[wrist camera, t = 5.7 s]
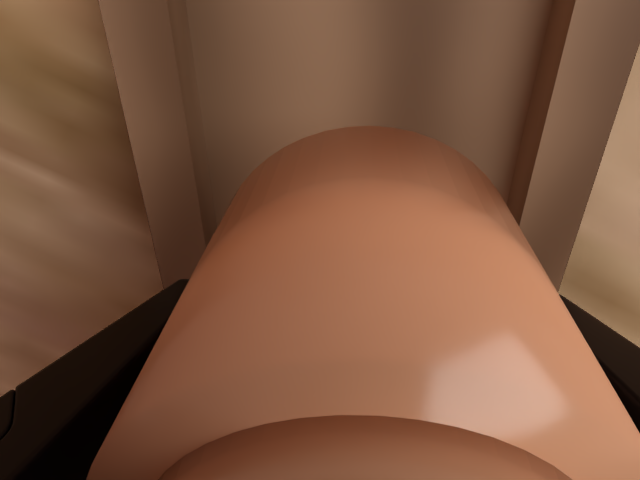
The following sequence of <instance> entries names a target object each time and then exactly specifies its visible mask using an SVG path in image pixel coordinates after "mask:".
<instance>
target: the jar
mask: <svg viewBox="0 0 640 480" xmlns="http://www.w3.org/2000/svg"><path fill="white" fill-rule="evenodd" d="M86 480H640V433H639V431H638V429H637V428H636V426H635V424H634V422H633V421H632V419H631V417H630V416H629V414H628V412H627V410H626V409H625V407H624V405H623V404H622V402H621V400H620V398H619V397H618V395H617V393H616V392H615V390H614V388H613V387H612V385H611V383H610V381H609V380H608V378H607V376H606V375H605V373H604V371H603V369H602V368H601V366H600V364H599V363H598V361H597V359H596V357H595V356H594V354H593V352H592V351H591V349H590V347H589V345H588V344H587V342H586V340H585V339H584V337H583V335H582V333H581V332H580V330H579V328H578V327H577V325H576V323H575V321H574V320H573V318H572V316H571V315H570V313H569V311H568V309H567V308H566V306H565V304H564V303H563V301H562V299H561V297H560V296H559V294H558V292H557V291H556V289H555V287H554V286H553V284H552V282H551V280H550V279H549V277H548V275H547V274H546V272H545V270H544V268H543V267H542V265H541V263H540V262H539V260H538V258H537V256H536V255H535V253H534V251H533V250H532V248H531V246H530V244H529V243H528V241H527V239H526V238H525V236H524V234H523V232H522V231H521V229H520V227H519V226H518V224H517V222H516V220H515V219H514V217H513V215H512V214H511V212H510V210H509V208H508V207H507V205H506V203H505V202H504V200H503V198H502V197H501V195H500V193H499V191H498V190H497V189H496V187H495V186H494V185H493V183H492V182H491V181H490V179H489V178H488V177H487V175H485V174H484V173H483V172H482V171H481V170H480V169H479V168H478V167H477V166H476V165H475V164H474V163H473V162H472V161H471V160H469V159H468V158H466V157H465V156H464V155H462V154H461V153H459V152H458V151H456V150H455V149H453V148H451V147H449V146H447V145H445V144H443V143H442V142H440V141H438V140H436V139H433V138H430V137H427V136H424V135H421V134H419V133H416V132H412V131H407V130H402V129H397V128H392V127H380V126H355V127H344V128H338V129H333V130H327V131H323V132H320V133H317V134H314V135H311V136H307V137H304V138H302V139H300V140H298V141H296V142H294V143H292V144H289V145H287V146H285V147H284V148H282V149H281V150H279V151H277V152H276V153H274V154H273V155H271V156H270V157H268V158H267V159H266V160H265V161H264V162H262V163H261V164H260V165H259V166H258V167H257V168H256V169H254V170H253V171H252V173H251V174H250V175H249V176H248V177H247V178H246V180H245V181H244V182H243V183H242V184H241V186H240V187H239V189H238V190H237V192H236V194H235V195H234V197H233V198H232V200H231V202H230V204H229V206H228V208H227V209H226V211H225V213H224V215H223V217H222V219H221V221H220V223H219V225H218V226H217V228H216V230H215V232H214V234H213V236H212V238H211V240H210V242H209V243H208V245H207V247H206V249H205V251H204V253H203V255H202V257H201V259H200V260H199V262H198V264H197V266H196V268H195V270H194V272H193V274H192V276H191V277H190V279H189V281H188V283H187V285H186V287H185V289H184V291H183V293H182V294H181V296H180V298H179V300H178V302H177V304H176V306H175V308H174V310H173V311H172V313H171V315H170V317H169V319H168V321H167V323H166V325H165V327H164V328H163V330H162V332H161V334H160V336H159V338H158V340H157V342H156V344H155V345H154V347H153V349H152V351H151V353H150V355H149V357H148V359H147V361H146V362H145V364H144V366H143V368H142V370H141V372H140V374H139V376H138V378H137V379H136V381H135V383H134V385H133V387H132V389H131V391H130V393H129V395H128V396H127V398H126V400H125V402H124V404H123V406H122V408H121V410H120V412H119V413H118V415H117V417H116V419H115V421H114V423H113V425H112V427H111V429H110V430H109V432H108V434H107V436H106V438H105V440H104V442H103V444H102V446H101V447H100V449H99V451H98V453H97V455H96V457H95V459H94V461H93V463H92V465H91V468H90V470H89V473H88V476H87V478H86Z"/></svg>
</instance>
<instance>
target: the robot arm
mask: <svg viewBox="0 0 640 480" xmlns="http://www.w3.org/2000/svg"><path fill="white" fill-rule="evenodd" d="M188 281H189V279H180V280H178V281H176V282H175V283H173V284H172V285H170V286H168V287H167V288H165V289H164V290H162V291H161V292H159V293H158V294H156V295H155V296H153V297H152V298H150V299H149V300H147V301H146V302H144V303H143V304H141V305H140V306H138V307H137V308H135V309H134V310H132V311H131V312H129V313H128V314H126V315H124V316H123V317H121V318H120V319H118V320H117V321H115V322H114V323H112V324H111V325H109V326H108V327H106V328H105V329H103V330H102V331H100V332H99V333H97V334H96V335H94V336H93V337H91V338H90V339H88V340H87V341H85V342H84V343H82V344H80V345H79V346H77V347H76V348H74V349H73V350H71V351H70V352H68V353H67V354H65V355H64V356H62V357H61V358H59V359H58V360H56V361H55V362H53V363H52V364H50V365H49V366H47V367H46V368H44V369H42V370H41V371H39V372H38V373H36V374H35V375H33V376H32V377H30V378H29V379H27V380H26V381H24V382H23V383H21V384H20V385H18V386H17V387H16V390H10V391H9V392H7V393H6V394H4V395H3V396H1V397H0V480H86V478H87V476H88V473H89V470H90V468H91V465H92V463H93V461H94V459H95V457H96V455H97V453H98V451H99V449H100V447H101V446H102V444H103V442H104V440H105V438H106V436H107V434H108V432H109V430H110V429H111V427H112V425H113V423H114V421H115V419H116V417H117V415H118V413H119V412H120V410H121V408H122V406H123V404H124V402H125V400H126V398H127V396H128V395H129V393H130V391H131V389H132V387H133V385H134V383H135V381H136V379H137V378H138V376H139V374H140V372H141V370H142V368H143V366H144V364H145V362H146V361H147V359H148V357H149V355H150V353H151V351H152V349H153V347H154V345H155V344H156V342H157V340H158V338H159V336H160V334H161V332H162V330H163V328H164V327H165V325H166V323H167V321H168V319H169V317H170V315H171V313H172V311H173V310H174V308H175V306H176V304H177V302H178V300H179V298H180V296H181V294H182V293H183V291H184V289H185V287H186V285H187V283H188ZM559 296H560V297H561V299H562V301H563V303H564V304H565V306H566V308H567V309H568V311H569V313H570V315H571V316H572V318H573V320H574V321H575V323H576V325H577V327H578V328H579V330H580V332H581V333H582V335H583V337H584V339H585V340H586V342H587V344H588V345H589V347H590V349H591V351H592V352H593V354H594V356H595V357H596V359H597V361H598V363H599V364H600V366H601V368H602V369H603V371H604V373H605V375H606V376H607V378H608V380H609V381H610V383H611V385H612V387H613V388H614V390H615V392H616V393H617V395H618V397H619V398H620V400H621V402H622V404H623V405H624V407H625V409H626V410H627V412H628V414H629V416H630V417H631V419H632V421H633V422H634V424H635V426H636V428H637V429H638V431H639V433H640V348H639V347H638V346H636V345H635V344H633V343H632V342H630V341H629V340H627V339H626V338H624V337H623V336H621V335H620V334H618V333H617V332H615V331H614V330H612V329H611V328H609V327H608V326H607V325H605V324H604V323H602V322H601V321H599V320H598V319H596V318H595V317H593V316H592V315H590V314H589V313H587V312H586V311H584V310H583V309H581V308H580V307H578V306H577V305H575V304H574V303H572V302H571V301H569V300H568V299H566V298H565V297H563V296H562V295H560V294H559Z"/></svg>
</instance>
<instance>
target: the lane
mask: <svg viewBox="0 0 640 480" xmlns="http://www.w3.org/2000/svg"><path fill="white" fill-rule="evenodd" d="M98 2H99V6H100V10H101V15H102V19H103V24H104V28H105V33H106V37H107V41H108V46H109V50H110V55H111V59H112V63H113V68H114V72H115V77H116V81H117V85H118V90H119V94H120V99H121V103H122V108H123V112H124V116H125V121H126V125H127V130H128V134H129V138H130V143H131V147H132V152H133V156H134V160H135V165H136V169H137V174H138V178H139V183H140V187H141V191H142V196H143V200H144V205H145V209H146V213H147V218H148V222H149V227H150V231H151V235H152V240H153V244H154V249H155V253H156V258H157V262H158V266H159V271H160V275H161V280H162V284H163V288H164V289H165V288H167V287H168V286H170V285H172V284H173V283H175V282H176V281H178V280H180V279H190V277H191V276H192V274H193V272H194V270H195V268H196V266H197V264H198V262H199V260H200V259H201V257H202V255H203V253H204V251H205V249H206V247H207V245H208V243H209V242H210V240H211V238H212V236H213V234H214V232H215V230H216V228H217V226H218V225H219V223H220V221H221V219H222V217H223V215H224V213H225V211H226V209H227V208H228V206H229V204H230V202H231V200H232V198H233V197H234V195H235V194H236V192H237V190H238V189H239V187H240V186H241V184H242V183H243V182H244V181H245V180H246V178H247V177H248V176H249V175H250V174H251V173H252V171H253V170H254V169H256V168H257V167H258V166H259V165H260V164H261V163H262V162H264V161H265V160H266V159H267V158H268V157H270V156H271V155H273V154H274V153H276V152H277V151H279V150H281V149H282V148H284V147H285V146H287V145H289V144H292V143H294V142H296V141H298V140H300V139H302V138H304V137H307V136H311V135H314V134H317V133H320V132H323V131H327V130H333V129H338V128H344V127H355V126H380V127H392V128H397V129H402V130H407V131H412V132H416V133H419V134H421V135H424V136H427V137H430V138H433V139H436V140H438V141H440V142H442V143H443V144H445V145H447V146H449V147H451V148H453V149H455V150H456V151H458V152H459V153H461V154H462V155H464V156H465V157H466V158H468V159H469V160H471V161H472V162H473V163H474V164H475V165H476V166H477V167H478V168H479V169H480V170H481V171H482V172H483V173H484V174H485V175H487V177H488V178H489V179H490V181H491V182H492V183H493V185H494V186H495V187H496V189H497V190H498V191H499V193H500V195H501V197H502V198H503V200H504V202H505V203H506V205H507V207H508V208H509V210H510V212H511V214H512V215H513V217H514V219H515V220H516V222H517V224H518V226H519V227H520V229H521V231H522V232H523V234H524V236H525V238H526V239H527V241H528V243H529V244H530V246H531V248H532V250H533V251H534V253H535V255H536V256H537V258H538V260H539V262H540V263H541V265H542V267H543V268H544V270H545V272H546V274H547V275H548V277H549V279H550V280H551V282H552V284H553V286H554V287H555V289H556V291H557V292H558V291H559V288H560V285H561V282H562V279H563V275H564V272H565V269H566V266H567V263H568V260H569V257H570V254H571V251H572V248H573V245H574V242H575V239H576V236H577V233H578V230H579V227H580V224H581V221H582V218H583V214H584V211H585V208H586V205H587V202H588V199H589V196H590V193H591V190H592V187H593V184H594V181H595V178H596V175H597V172H598V169H599V166H600V163H601V160H602V157H603V153H604V150H605V147H606V144H607V141H608V138H609V135H610V132H611V129H612V126H613V123H614V120H615V117H616V114H617V111H618V108H619V105H620V102H621V99H622V96H623V92H624V89H625V86H626V83H627V80H628V77H629V74H630V71H631V68H632V65H633V62H634V59H635V56H636V53H637V50H638V47H639V44H640V0H98Z"/></svg>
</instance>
